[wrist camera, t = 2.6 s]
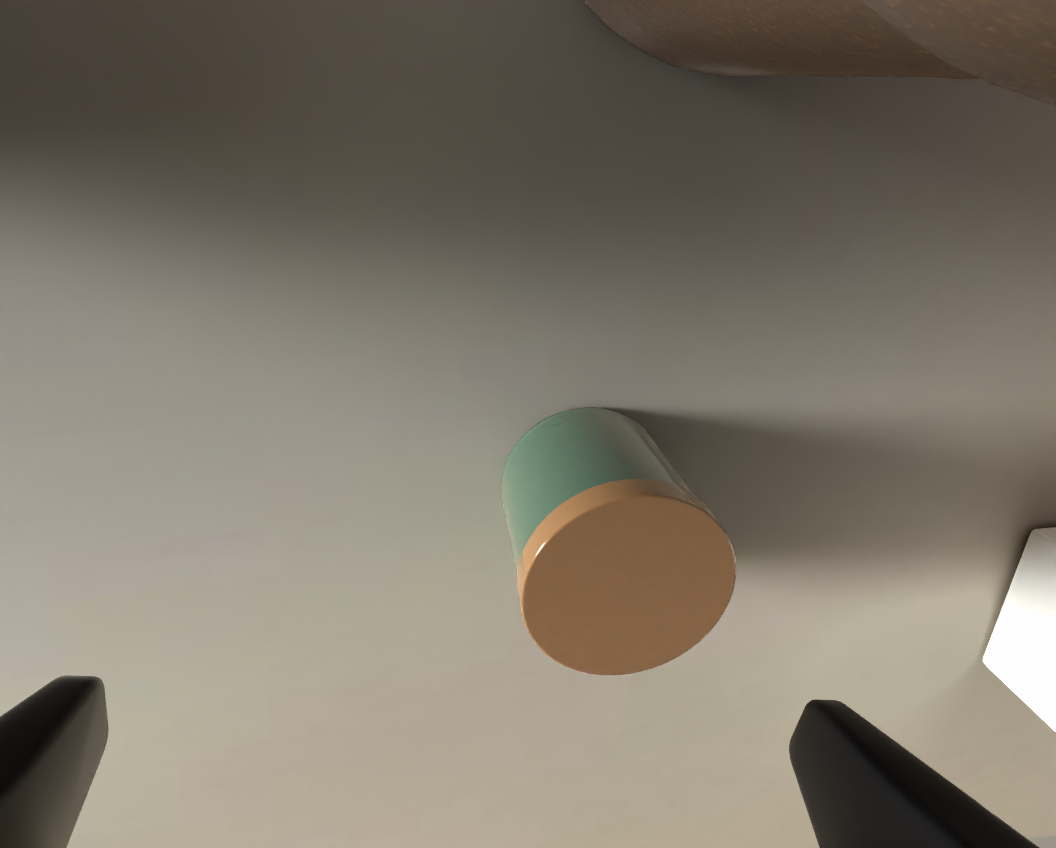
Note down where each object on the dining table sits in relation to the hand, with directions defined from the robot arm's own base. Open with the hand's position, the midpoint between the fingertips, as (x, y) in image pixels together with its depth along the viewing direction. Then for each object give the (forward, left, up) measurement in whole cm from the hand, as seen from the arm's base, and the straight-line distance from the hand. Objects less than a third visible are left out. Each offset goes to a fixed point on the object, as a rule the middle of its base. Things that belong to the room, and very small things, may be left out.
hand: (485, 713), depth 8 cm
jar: (-1, -6, -13) cm, 14 cm away
